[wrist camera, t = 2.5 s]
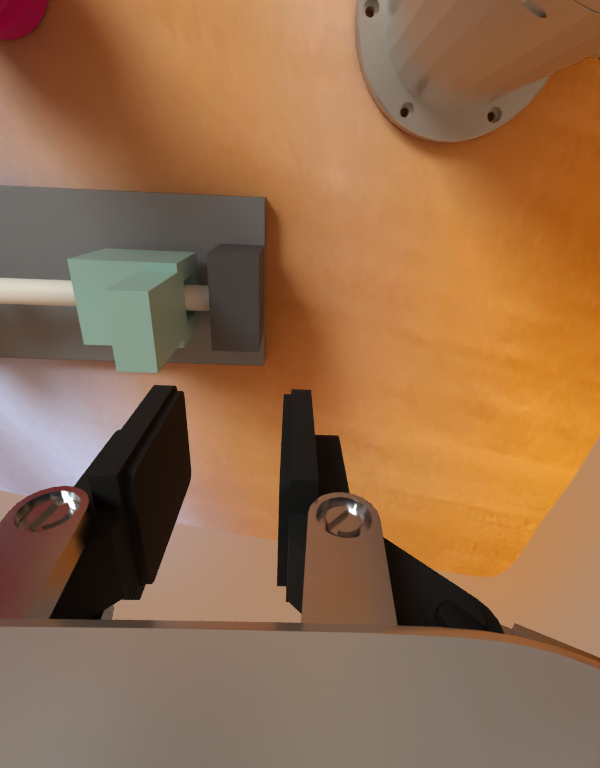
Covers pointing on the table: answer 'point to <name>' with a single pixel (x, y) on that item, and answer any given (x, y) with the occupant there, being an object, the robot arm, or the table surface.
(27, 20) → the pepper mill
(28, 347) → the slider rail fixture
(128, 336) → the sage stepped block
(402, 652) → the robot arm
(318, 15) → the table surface
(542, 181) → the table surface
